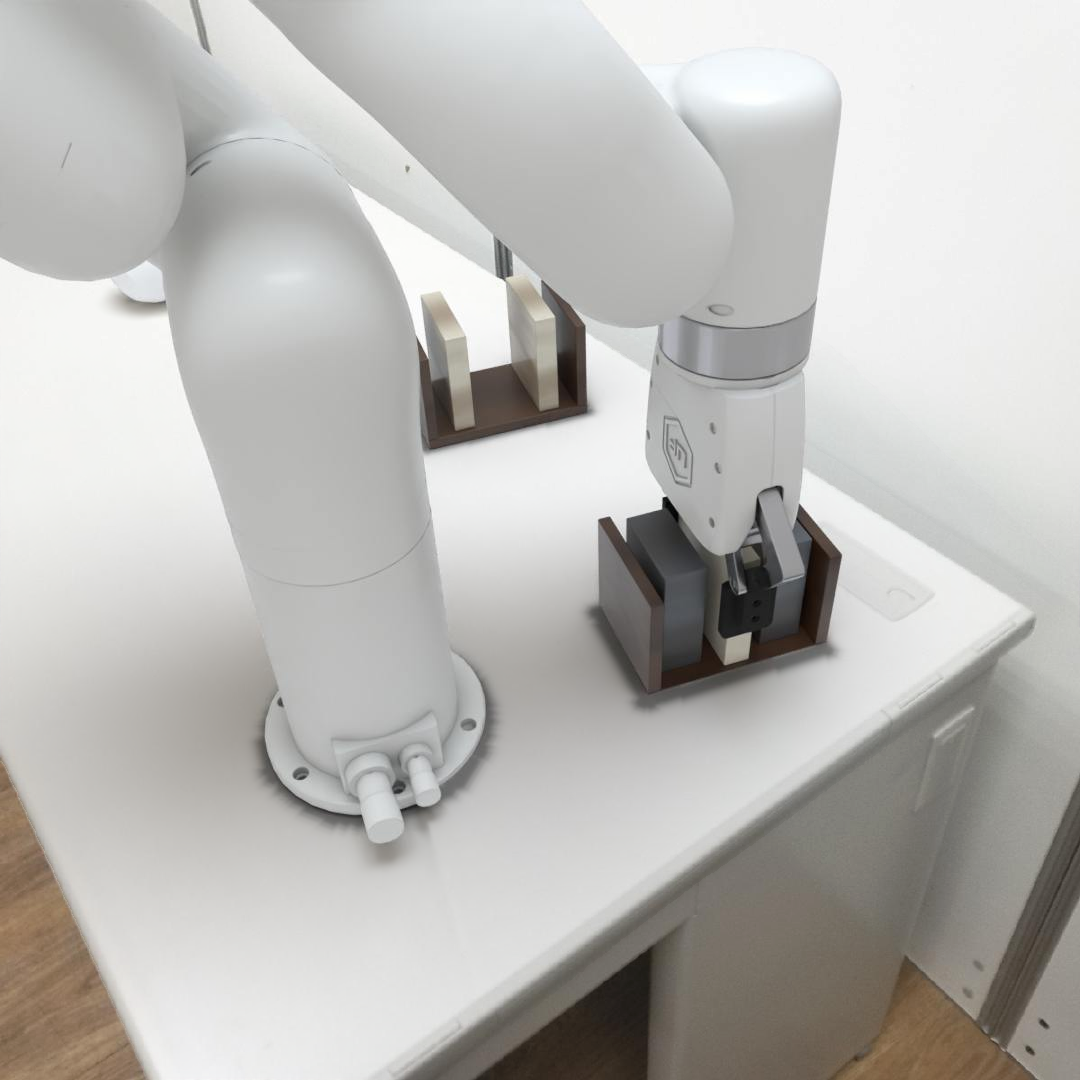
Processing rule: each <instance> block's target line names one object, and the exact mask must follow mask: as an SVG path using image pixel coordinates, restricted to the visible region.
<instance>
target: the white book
mask: <svg viewBox="0 0 1080 1080" xmlns="http://www.w3.org/2000/svg"><path fill="white" fill-rule="evenodd" d="M678 525H679V526H680V528H681V529H682V531H683V532H684V534H685V535H686V537H687V538H688V539H689V541H690V542H691V544H692V545H693V547H694V548H695V550H696V551H697V553H698V554H699V556H700V557H701V558H702V560H703V561H704V563H705V564H706V566H707V567H708V572H707V586H706V599H705V612H704V625H703V633H704V635H705V636H706V638H707V639H708V641H709V642H710V644H711V646H712V647H713V649H714V650H715V652H716V653H717V655H718V656H719V658H720V660H721V661H722V663H723V664H724V665H728V664H732V663H735V662H739V661H742V660H746V659H748V658H749V649H750V641H751V633H752V632H750V633H745V634H742V635H738V636H735V637H731V638H728V639H723V638H722V636H721V635H720V633H719V632H718V621H719V609H720V597H721V586H722V583H724V582H725V581H728V580H729V578H728V572H727V566H726V560H725V555H722V556H718V555H715V554H713V553H712V552H710V551H709V550H707V549H706V548H705V547H704V546H703V545H702V544H701V543H700V542H699V541H698V539H697V538H696V537H695V535H694V534H693V533H692V531H691V530H690V528H689V527H688V526H687V524H686V523H685V521H684V520H683V519H682V517H681V516H680V514H679V515H678ZM742 555H743V561H744V567H745V570H746V569H750V568H753V567H757V566H760V558H759V556H758V555H757V554H756V552H755V551H754V550H753V548H752V547H751V546H749V547H745V548H742Z"/></svg>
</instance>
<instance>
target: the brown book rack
mask: <svg viewBox="0 0 1080 1080" xmlns="http://www.w3.org/2000/svg"><path fill="white" fill-rule="evenodd" d="M504 279H505V293H506V306H507V320H508V333H509V334H508V335H509V348H510V349H509V350H510V359H511V360H510V361H511V362H510V363H505V364H502V365H501V364H500V365H497V366H493V367H489V368H484V369H479V370H475V371H470V362H469V351H468V341H467V340H468V339H467V335H466V334H465V331H464V330H463V328H462V326H461V325H460V323H459V321H458V320H457V318H456V316H455V314H454V312H453V310H452V309H451V307H450V305H449V304H448V302H447V300H446V298H445V297H444V295H443V294H442V291H440V290H438V291H433V292H428V293H423V294H420V303H421V304H420V305H421V312H422V318H423V319H422V320H423V328H424V335H425V342H426V350H427V351H426V352H427V354H426V352H425V349H424V347H423V346H422V344H421V341H420V340H419V338H418V336H417V335H416V338H417V345H418V352H419V364H420V425H421V434H422V435H423V437H424V439H425V442H426V444H427V447H428V449H429V450H432V449H437V448H442V447H445V446H450V445H453V444H459V443H462V442H466V441H471V440H475V439H479V438H484V437H488V436H493V435H496V434H501V433H506V432H509V431H514V430H518V429H523V428H526V427H531V426H535V425H539V424H540V425H541V424H544V423H548V422H552V421H557V420H560V419H565V418H569V417H574V416H577V415H582V414H587V413H588V385H587V383H588V382H587V377H588V376H587V330H586V324H585V323H584V321H583V320H582V318H581V317H580V316H579V314H578V313H577V312H576V310H575V309H574V308H573V307H572V306H571V305H570V304H568V303H567V302H566V301H565V300H564V299H562V298H561V297H560V296H559V295H558V294H557V293H556V292H555V291H554V290H553V289H551V288H550V287H549V286H548V285H547V284H546V283H545V282H544V281H543V280H542V279H541V280H540V286H541V287H540V289H541V295H540V293H539V292H538V290H537V289H536V287H534V285H533V283H532V282H531V281H530V279H529V278H528V276H527V275H526V274H525V273H521V274H516V275H512V276H508V277H505V278H504Z"/></svg>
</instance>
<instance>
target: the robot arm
mask: <svg viewBox="0 0 1080 1080" xmlns="http://www.w3.org/2000/svg"><path fill="white" fill-rule="evenodd" d="M248 1H249V3H251V4H252V5H253V6H254V7H255V8H256V9H257V10H258V11H259V12H260V13H261V14H262V15H263V16H264V17H265V18H267V20H269V22H270V23H272V24H273V25H274V26H275V28H276V29H278V30H279V31H280V33H281V34H282V35H283V36H284V37H285V38H286V39H287V41H288V42H290V44H291V45H292V46H293V47H294V48H295V49H296V50H297V51H298V52H299V53H300V54H301V55H302V56H303V57H304V58H305V59H306V60H307V61H308V62H309V63H310V64H311V65H312V66H313V67H315V68H316V69H317V70H318V71H319V72H320V73H321V74H322V75H323V76H325V78H327V79H328V80H329V81H330V82H331V83H333V85H334V86H336V87H337V88H338V89H339V90H341V91H342V92H343V93H344V94H345V95H346V96H347V97H349V98H350V99H351V100H352V101H353V102H355V103H356V104H357V105H358V106H359V107H361V109H362V110H364V111H365V112H366V113H367V114H368V115H369V116H370V117H371V118H373V120H375V121H376V122H377V123H378V124H379V125H380V126H381V127H382V128H383V129H384V130H385V131H386V132H387V133H388V134H390V135H391V137H392V138H393V139H394V140H396V142H398V143H399V145H401V146H402V148H404V149H405V150H406V152H408V153H409V154H410V155H411V156H412V158H414V159H415V160H416V161H417V162H418V163H419V164H420V165H421V166H422V167H423V168H424V169H425V170H426V171H427V172H428V174H430V175H431V176H432V177H433V178H434V179H435V180H436V181H437V182H438V183H439V184H440V185H441V186H443V188H444V189H445V190H446V191H447V192H448V193H449V194H450V195H451V196H452V197H453V198H454V199H455V200H457V202H458V203H460V204H461V205H462V207H463V208H465V209H466V210H467V212H469V213H470V214H471V215H472V216H473V217H474V218H475V219H476V220H477V221H478V222H479V223H480V224H481V225H483V227H485V229H486V230H487V231H489V232H490V233H491V234H492V235H493V236H494V237H495V238H496V239H497V240H498V241H499V242H500V243H502V244H503V245H504V246H505V247H506V248H507V249H508V250H509V251H510V252H511V253H512V254H514V256H516V257H517V258H518V259H519V260H520V261H521V262H522V263H523V264H524V265H525V266H527V268H528V269H530V270H531V271H532V273H534V274H535V275H537V277H538V278H539V279H541V280H543V281H544V282H545V283H546V284H547V285H548V286H549V287H550V288H551V289H553V290H554V291H555V292H556V293H557V294H558V295H559V296H560V297H561V298H562V299H564V300H565V301H566V302H567V303H568V304H570V305H571V307H572V308H573V309H574V310H575V311H577V312H578V313H580V314H582V315H583V316H585V317H586V318H589V319H591V320H593V321H596V322H598V323H600V324H603V325H607V326H611V327H615V328H620V329H643V328H650V327H656V326H657V336H656V341H655V346H654V351H653V356H652V361H651V362H652V363H651V369H650V379H649V386H648V397H647V411H646V427H645V429H646V430H645V443H644V444H645V446H644V454H645V461H646V463H647V466H648V469H649V470H650V471H649V472H651V474H652V476H653V477H654V479H655V481H656V482H657V484H658V485H659V487H660V488H661V491H662V492H663V494H664V495H665V496H662V498H661V509H665V508H667V509H668V510H669V512H670V513H671V515H672V516H673V518H674V519H675V521H676V522H677V523H678V515H679V514H680V516H681V517H682V519H683V520H684V521H685V523H686V524H687V526H688V527H689V528H690V530H691V531H692V533H693V534H694V535H695V537H696V538H697V539H698V541H699V542H700V543H701V544H702V545H703V546H704V547H705V548H706V549H707V550H709V551H710V552H712V553H713V554H715V555H718V556H722V555H725V560H726V566H727V572H728V578H729V580H728V581H725V582H724V583H722V586H721V597H720V609H719V621H718V632H719V633H720V635H721V636H722V638H723V639H728V638H731V637H735V636H738V635H742V634H745V633H750V632H753V631H757V630H759V629H762V628H766V627H768V626H770V625H771V623H772V622H773V615H774V607H775V600H776V592H777V586H781V585H784V584H788V583H790V582H792V581H794V580H796V579H799V578H801V577H803V576H804V574H805V568H804V564H803V561H802V558H801V555H800V552H799V549H798V546H797V543H796V540H795V537H794V534H793V531H792V529H793V527H794V524H795V521H796V517H797V512H798V507H799V503H800V500H801V493H802V484H803V473H804V460H805V459H804V457H805V443H806V442H805V441H806V386H805V385H806V384H805V374H804V371H803V369H804V368H805V367H806V365H807V363H808V361H809V360H810V359H809V358H810V354H811V346H812V339H813V331H814V324H815V317H816V316H815V315H816V308H817V300H818V292H819V286H820V278H821V271H822V263H823V256H824V248H825V240H826V233H827V225H828V218H829V210H830V203H831V196H832V189H833V188H832V187H833V181H834V173H835V165H836V157H837V156H836V155H837V149H838V143H839V134H840V128H841V119H842V108H843V107H842V105H843V100H842V91H841V87H840V84H839V82H838V80H837V78H836V76H835V75H834V72H833V71H832V70H830V68H829V67H828V66H826V64H824V62H821V61H820V60H818V59H816V58H814V57H812V56H810V55H807V54H804V53H800V52H796V51H792V50H788V49H783V48H782V49H781V48H776V47H763V46H762V47H761V46H759V47H757V46H753V47H750V46H749V47H737V48H729V49H722V50H718V51H713V52H710V53H707V54H704V55H701V56H698V57H695V58H694V59H692V60H691V61H688V62H677V63H676V62H674V63H635V62H634V60H633V59H632V58H631V56H630V55H629V54H628V53H627V52H626V51H625V50H624V48H623V47H622V46H621V44H619V42H618V40H616V39H615V38H614V37H613V35H612V34H611V33H610V32H609V30H607V28H606V27H605V26H604V25H603V24H602V22H601V21H600V20H599V19H598V18H597V17H596V16H595V14H594V13H593V12H592V11H591V10H590V9H589V7H588V6H587V5H586V4H585V3H584V2H583V0H248ZM379 238H380V237H379V236H378V235H377V233H376V231H375V229H374V227H373V225H372V224H371V222H370V221H369V219H368V218H367V217H366V215H365V212H364V211H363V210H362V207H361V205H360V203H359V202H358V200H357V198H356V196H355V194H354V191H353V190H352V188H351V187H350V184H349V183H348V182H347V180H346V178H345V176H344V175H343V174H342V172H341V171H340V170H339V168H338V167H337V165H336V164H335V163H334V162H333V161H332V160H331V158H330V157H329V156H328V155H327V154H326V152H324V150H323V149H321V148H320V147H319V146H318V145H317V144H316V143H315V142H314V141H313V140H312V139H310V138H309V137H308V135H306V134H305V133H304V132H302V130H301V129H299V128H298V127H297V126H295V124H293V122H292V121H290V120H289V119H288V118H287V117H285V116H284V115H283V114H282V113H280V112H279V111H278V110H277V109H276V108H275V107H273V106H272V105H271V104H270V103H269V102H267V101H266V100H265V99H264V98H263V97H262V96H260V94H258V93H257V92H256V91H255V90H253V89H252V88H251V87H250V86H248V85H247V84H246V83H245V82H244V81H242V80H241V79H240V78H239V77H238V76H237V75H235V74H234V73H233V72H232V71H231V70H230V69H228V67H226V66H225V65H224V64H223V63H221V61H219V60H218V59H217V58H215V57H214V56H213V55H211V53H209V52H208V51H207V50H206V49H204V48H203V47H202V46H201V45H200V44H198V43H197V42H196V40H194V39H193V38H192V37H190V35H188V34H187V33H185V32H184V31H183V30H182V29H181V28H180V27H178V26H177V25H176V23H174V22H172V21H171V19H169V18H168V17H167V16H166V15H164V14H163V13H162V12H161V11H160V10H158V9H157V8H156V7H155V6H153V4H151V3H150V2H149V1H148V0H0V259H2V260H4V261H6V262H8V263H10V264H11V265H14V266H16V267H18V268H20V269H22V270H25V271H27V272H29V273H32V274H37V275H40V276H44V277H47V278H51V279H54V280H59V281H66V282H67V281H68V282H69V281H70V282H86V283H87V282H97V281H101V280H106V279H111V278H112V277H117V276H119V275H121V274H124V273H126V272H128V271H131V270H132V269H134V268H136V267H137V266H139V265H141V264H142V263H144V262H145V261H148V262H149V263H151V264H152V265H154V266H155V267H157V268H158V269H159V270H161V271H162V279H163V289H164V295H165V304H166V305H165V306H166V310H167V316H168V322H169V329H170V335H171V339H172V344H173V350H174V354H175V359H176V363H177V368H178V372H179V374H180V376H179V377H180V380H181V383H182V387H183V390H184V395H185V398H186V400H187V404H188V406H189V409H190V413H191V415H192V419H193V421H194V424H195V427H196V430H197V432H198V435H199V437H200V440H201V443H202V446H203V448H204V451H205V453H206V457H207V460H208V463H209V465H210V468H211V471H212V474H213V477H214V480H215V483H216V487H217V490H218V493H219V496H220V499H221V503H222V506H223V511H224V514H225V517H226V520H227V524H228V526H229V529H230V533H231V536H232V537H231V538H232V540H233V544H234V546H235V549H236V551H237V554H238V557H239V560H240V563H241V567H242V570H243V574H244V577H245V580H246V585H247V587H248V591H249V594H250V597H251V600H252V604H253V607H254V608H253V609H254V610H255V614H256V617H257V621H258V624H259V626H260V632H261V634H262V637H263V641H264V644H265V647H266V651H267V655H268V657H269V662H270V664H271V665H270V666H271V668H272V671H273V674H274V678H275V682H276V684H277V688H278V690H277V691H276V694H275V695H274V697H273V698H272V700H271V703H270V705H269V709H268V711H267V715H266V718H265V722H264V723H265V725H264V742H265V746H266V747H265V748H266V752H267V755H268V758H269V761H270V763H271V766H272V768H273V771H274V772H275V774H276V775H277V777H278V779H279V780H280V781H281V784H283V785H284V786H285V787H286V788H287V789H288V790H289V791H290V792H291V793H293V794H294V795H295V796H296V797H297V798H299V799H301V800H302V801H304V802H306V803H308V804H309V805H311V806H313V807H317V808H319V809H322V810H326V811H328V812H330V813H337V814H344V815H351V816H362V820H363V824H364V827H365V831H366V835H367V839H368V840H369V841H370V842H372V843H373V844H386V843H391V842H392V841H395V840H396V839H398V838H400V837H401V835H402V834H403V833H404V832H405V828H406V825H405V821H404V818H403V814H402V811H401V810H403V809H405V808H408V807H411V806H414V805H417V806H419V807H421V808H426V807H431V806H433V805H435V804H437V803H438V802H439V801H441V798H442V792H441V791H442V790H441V788H440V787H441V786H442V785H444V784H445V783H446V782H447V781H449V780H450V779H451V778H452V777H454V776H455V775H456V774H457V773H458V772H459V771H460V770H461V769H462V768H463V767H464V766H465V764H466V763H467V762H468V761H469V759H470V758H471V756H472V755H473V754H474V752H475V750H476V749H477V747H478V745H479V743H480V740H481V738H482V736H483V732H484V728H485V724H486V716H487V708H486V707H487V706H486V697H485V693H484V691H483V690H484V689H483V686H482V682H481V681H480V680H479V677H478V676H477V674H476V672H475V670H474V669H473V668H472V667H471V666H470V665H469V664H468V662H467V661H466V660H465V659H464V658H463V657H461V655H459V654H458V653H456V652H455V651H453V650H452V648H451V641H450V635H449V627H448V621H447V614H446V608H445V607H446V606H445V599H444V591H443V585H442V578H441V571H440V570H441V569H440V564H439V556H438V555H439V554H438V550H437V549H438V548H437V543H436V535H435V528H434V521H433V514H432V508H431V507H432V506H431V503H430V496H429V489H428V482H427V481H428V480H427V473H426V468H425V457H424V451H423V449H424V448H423V437H422V431H421V425H420V364H419V352H418V345H417V338H418V337H417V338H416V336H417V334H416V329H415V324H414V320H413V316H412V312H411V309H410V306H409V302H408V300H407V296H406V294H405V292H404V289H403V286H402V284H401V282H400V279H399V277H398V275H397V272H396V270H395V268H394V266H393V263H392V261H391V260H390V258H389V255H388V253H387V251H386V250H385V248H384V246H383V244H382V243H381V240H380V239H379ZM755 520H756V523H757V528H754V529H751V528H752V526H753V524H754V522H755ZM760 543H761V544H762V551H763V557H764V563H765V565H760V566H757V567H753V568H750V569H746V570H745V567H744V561H743V555H742V548H745V547H749V546H753V545H756V544H760ZM471 724H472V725H474V726H475V727H474V728H472V729H470V730H465V729H463V727H464V726H466V725H471Z"/></svg>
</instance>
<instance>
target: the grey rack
mask: <svg viewBox="0 0 1080 1080" xmlns="http://www.w3.org/2000/svg"><path fill="white" fill-rule="evenodd" d="M625 521H626V523H625V526H626V527H625V538H626V539H625V538H624V536H623V535H622V533H621V531H620V530H619V528H618V527H617V526H616V523H615V522H614V521H613V519H612V517H611V515H609V516H605V517H601V518H598V519H597V541H598V542H597V546H598V547H597V548H598V549H597V551H598V552H597V556H598V561H597V563H598V606H599V607H600V609H601V611H602V613H603V614H604V617H605V618H606V621H607V622H608V624H609V626H610V627H611V629H612V631H613V633H614V635H615V636H616V638H617V640H618V642H619V644H620V645H621V647H622V649H623V651H624V653H625V654H626V656H627V658H628V660H629V662H630V664H631V665H632V667H633V669H634V671H635V672H636V675H637V677H638V678H639V680H640V682H641V683H642V685H643V687H644V689H645V691H646V693H647V694H648V695H652V694H655V693H659V692H662V691H666V690H669V689H673V688H676V687H678V686H682V685H685V684H686V685H687V684H690V683H693V682H697V681H699V680H703V679H706V678H710V677H713V676H717V675H720V674H723V673H726V672H727V673H728V672H730V671H733V670H737V669H741V668H744V667H746V666H750V665H753V664H757V663H760V662H763V661H767V660H770V659H774V658H776V657H781V656H784V655H787V654H791V653H794V652H797V651H800V650H803V649H808V648H811V647H814V646H817V645H821V644H825V643H827V641H828V635H829V630H830V625H831V619H832V614H833V610H834V609H833V608H834V603H835V597H836V592H837V587H838V586H837V585H838V580H839V575H840V570H841V564H842V560H843V559H842V558H843V554H842V553H841V551H840V550H839V549H838V547H837V546H836V545H835V544H834V543H833V542H832V540H831V539H830V538H829V537H828V536H827V534H826V533H825V532H824V531H823V530H822V529H821V527H820V526H819V525H818V524H817V523H816V521H815V520H814V519H813V518H812V516H811V515H810V514H809V513H808V512H807V510H806V509H805V508H804V507H803V505H802V504H801V503H800V502H799V507H798V512H797V517H796V521H795V524H794V527H793V529H792V531H793V534H794V537H795V540H796V543H797V546H798V549H799V552H800V555H801V558H802V561H803V564H804V568H805V574H804V576H803V577H801V578H799V579H796V580H794V581H792V582H790V583H788V584H784V585H781V586H777V592H776V600H775V607H774V615H773V622H772V623H771V625H770V626H768V627H766V628H762V629H759V630H757V631H753V632H752V633H751V641H750V649H749V658H748V659H746V660H742V661H739V662H735V663H732V664H728V665H724V664H723V663H722V661H721V660H720V658H719V656H718V655H717V653H716V652H715V650H714V649H713V647H712V646H711V644H710V642H709V641H708V639H707V638H706V636H705V635H704V633H703V625H704V612H705V599H706V586H707V572H708V567H707V566H706V564H705V563H704V561H703V560H702V558H701V557H700V556H699V554H698V553H697V551H696V550H695V548H694V547H693V545H692V544H691V542H690V541H689V539H688V538H687V537H686V535H685V534H684V532H683V531H682V529H681V528H680V526H679V525H678V523H677V522H676V521H675V519H674V518H673V516H672V515H671V513H670V512H669V510H668V509H667V508H665V509H662V508H661V509H657V510H653V511H649V512H645V513H642V514H638V515H634V516H630V517H627V518H626V519H625ZM754 528H757V523H756V520H755V522H754V524H753V526H752V528H751V529H754ZM751 547H752V548H753V550H754V551H755V552H756V554H757V555H758V556H759V558H760V565H765V563H764V557H763V551H762V544H761V543H760V544H756V545H753V546H751Z"/></svg>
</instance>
